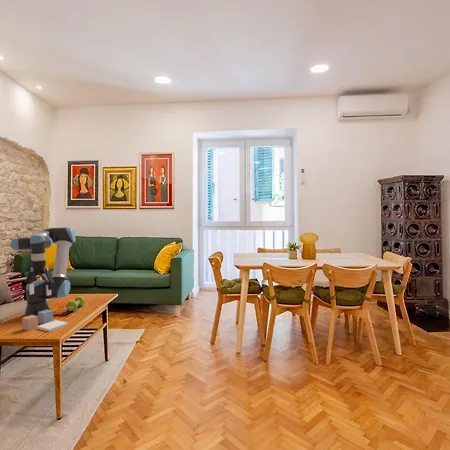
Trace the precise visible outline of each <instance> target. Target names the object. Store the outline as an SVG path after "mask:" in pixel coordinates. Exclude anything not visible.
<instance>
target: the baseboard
mask: <svg viewBox="0 0 450 450" xmlns="http://www.w3.org/2000/svg"><path fill="white" fill-rule="evenodd" d="M66 326H69V322H67V321H62V320H58V319H57V320H56V319H55V320H53V321H52V322H49V323H46V324H40V325H38V326H37V328H36V329H37V330H41V331H45V332H50V333H51V332H54V331H56V330H58V329H61V328H64V327H66Z"/></svg>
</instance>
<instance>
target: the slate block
mask: <svg viewBox="0 0 450 450" xmlns="http://www.w3.org/2000/svg"><path fill="white" fill-rule="evenodd" d="M52 321H54V310H52V309H50V310H44V311H41V312H38V324H40V325H43V324H46V323H49V322H52Z"/></svg>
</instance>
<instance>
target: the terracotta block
mask: <svg viewBox="0 0 450 450" xmlns="http://www.w3.org/2000/svg"><path fill="white" fill-rule="evenodd" d="M21 324H22V330H24V331H28V332H29V331H31V330H35V329H37V326H39V323H38V316H35V315H30V316H27V317H25V316H24V317H21Z"/></svg>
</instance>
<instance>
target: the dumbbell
mask: <svg viewBox="0 0 450 450" xmlns="http://www.w3.org/2000/svg"><path fill="white" fill-rule="evenodd" d="M85 304H86V300H85V298H84V296H76V297H75V298H74V300H72V301H71V300H70V301H68V302H67V304H66V306H65V308H66V310H67V311H68V310H71V311H73V312H75V311H77V310H78V308H79V307H83V306H84V305H85ZM78 306H79V307H78ZM73 312H72V313H73Z"/></svg>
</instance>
